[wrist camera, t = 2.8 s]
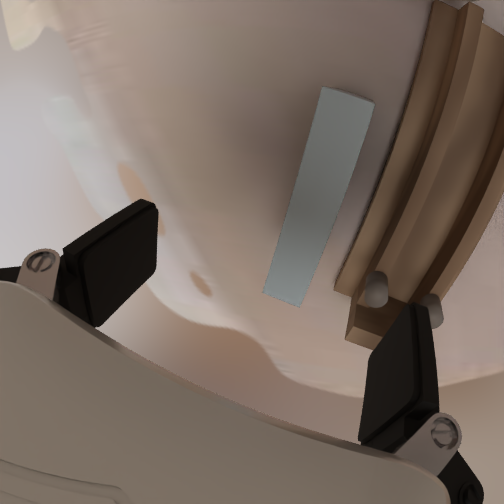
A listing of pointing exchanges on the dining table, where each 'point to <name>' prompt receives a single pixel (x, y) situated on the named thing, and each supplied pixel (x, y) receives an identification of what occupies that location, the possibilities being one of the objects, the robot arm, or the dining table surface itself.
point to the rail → (432, 178)
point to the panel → (318, 191)
